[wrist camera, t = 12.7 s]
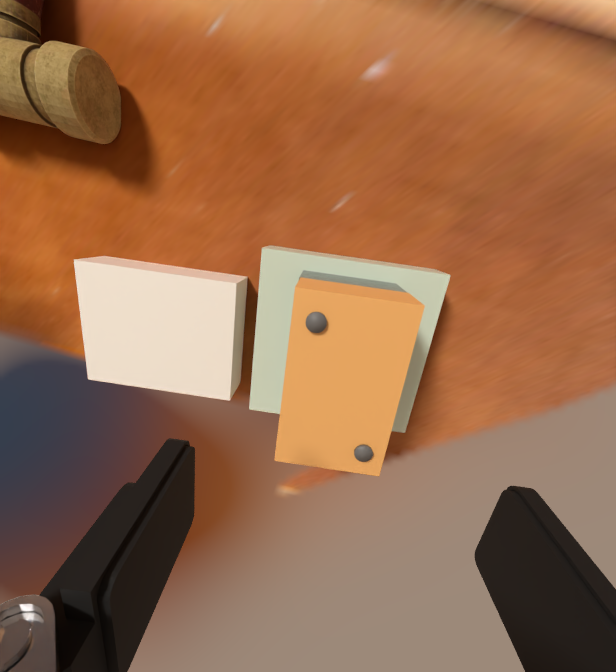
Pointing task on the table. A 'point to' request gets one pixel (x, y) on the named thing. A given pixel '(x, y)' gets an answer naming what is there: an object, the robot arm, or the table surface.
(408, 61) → the table surface
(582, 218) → the table surface
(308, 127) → the table surface
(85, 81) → the gavel
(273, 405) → the stand
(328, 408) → the housing cover
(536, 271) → the table surface
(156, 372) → the stand
